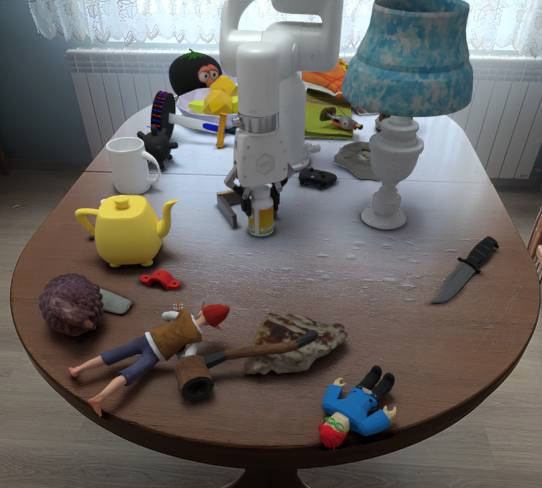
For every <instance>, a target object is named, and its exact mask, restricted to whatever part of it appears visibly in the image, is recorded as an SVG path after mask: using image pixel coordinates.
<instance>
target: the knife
mask: <svg viewBox="0 0 542 488" xmlns="http://www.w3.org/2000/svg"><path fill="white" fill-rule="evenodd" d="M499 248H500V245H499V243H498V241H497V240H496V239H495V238H493V236H489V235H488V236H486V237H484V238H483V239H482V240H480V241H479V242H477V244H476V245H475V246H474V247H473V248H472V249H471V251H470V252H469V253H468V256H467V257H466V258H462V257H458V258H457V259H456V260H457V261H458V262H459V263H458V265H457V266H456V267H454V269H453V270H452V271H451V272H450V274H449V275H448V276H447V277H446V278H445V279H444V280H443V284H442V289H441V291H440V293H439V295H438V296H437V297H435V298H434V299H433V300H431V301H429V303H430V304H440V303H446V302H448V301H450V300H451V299H452V298H453V297H455V295H456V294H458V292H459V291H460V290H461V288H462V287H464V285H465V284H466V283H467V282H468V281H469V280H470V278H471V277H472V275H474V274H475V273H476V274H481V272H482V270H481V269H479V268H478V266H480V265H481V264H482V263H484V262H485V260H486V259H487V258H488V257H489V256H490V255H491V253H492V252H493V250H494V249H496V250H498V249H499Z"/></svg>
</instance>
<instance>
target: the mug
mask: <svg viewBox="0 0 542 488" xmlns="http://www.w3.org/2000/svg"><path fill="white" fill-rule="evenodd" d="M105 149H106V154H107V158H108V161H109V165H110V166H109V167H110V170H111V175H112V178H113V183H114V186H115V189H116V191H117V192H118V194H120V195H139V196H140V195H143V194H145V193H147V192H148V191H149V190H150V189H151V186H152V185H155V184H157V183H158V182H159V181H160V178H161V170H160V168H159V165H158V162H157V161H156V159H155V158H154V157H153V156H152V155H150V154H149V153H147V152H146V151H145V147H144V142H143V141H142V140H141V139H140V138H138V137H134V136H123V137H118V138H113V139H111V140H109V141H108V142H107V143H106V145H105ZM147 160H149V162H152V164H154V165H155V166H156V169H157V172H158V173H157V176H156V177H154V178H153V177H151V175H150V169H149V162H148V163H147Z"/></svg>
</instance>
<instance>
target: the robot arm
mask: <svg viewBox="0 0 542 488" xmlns="http://www.w3.org/2000/svg"><path fill="white" fill-rule="evenodd" d="M253 2H255V0H224V2H223V4H222V5H223V6H222V10H221V14H220V29H219V43H218V53H219V54H218V56H219V57H218V58H219V64H220V66H221V69H222V72H224V73H225V74H226V76H228V77H231V78H236V85H237V89H238V111H237V117H235V118H232V120H231V121H232V125H233V126H235V127H236V129H235V131H236V133H235V135H234V142H233V156H232V157H233V159H232V160H233V161H232V164H233V166H232V168H231V170H230V171H229V172H228V174H227V176H225V178H224V180H223V184H224V185H225V187H227V188H228V189H229V190H233V191H235V192H236V193H237V194H238V195H240V198H241V203H240V211H242V213H244V214H245V215H246V216H247V218H248V217H250V216H251V199H250V198H249V192H250V188H251V187H254V186H259V185H268V184H269V185H270V184H271V186H269V187H270V196H271V197H272V199H273V209H274V211H277V212H278V211H279V205H281V193H282V192H283V188H284V187H285V186H286V185H287V183H288V181H289V179H291V178H292V177H293V175H294V174H295V173H296V172H299V171H300V170H301V169H303V168H308V166H309V164H310V157H309V156H310V155H311V154H312V153H313V154H315V153H320V152H321V151H322V146H321V144H320V143H318V144H313V143H312V142H306V143H305V137H304V135H305V113H306V90H307V88H306V87H305V85H304V83H303V81H302V79H301V78H302V77H301V76H300V75H299V73H298V72H301V73H302V71H305V72H330V71H332V70H333V69H334V68H335V67H336V65H337V62H338V59H340V58H339V57H340V51H341V38H342V29H343V28H342V26H343V13H344V2H345V1H344V0H270V2H271V6H272V8H273V9H274V11H276V12H278V13H281V14H288V15H304V16H305V15H307V16H308V15H309V16H310V15H311V16H318V17H319V18H320V19H321V22H314V21H313V22H311V21H298V20H297V21H294V20H282V21H276V22H273V23H270V25H268V26H267V27H266V29H265V30H254V29H253V30H252V29H250V30H249V29H239V26H240V25H239V24H240V20H241V17H242V16H243V14H244V12H245V10H246V9H247V8H248V7H249V6H250V5H251V4H252V3H253ZM236 179H237V180H238V182H239V183H235V181H236ZM238 184H239V185H238Z"/></svg>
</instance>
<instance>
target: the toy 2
mask: <svg viewBox="0 0 542 488" xmlns="http://www.w3.org/2000/svg"><path fill="white" fill-rule="evenodd" d="M382 375H383V369H382V368H381V367H380V366H379V365H373V366H372V367H371V369H370V370H369V372H368V373H366V374H365V375H364V377H363V379H362V380H361V381H360V382H359V383H357V384H356V385H355V386H353V387H351V388H350V391H349V393H348V395H347V396H346V397H345V398H341V396H342V392H343V388H344V387H345V386H346V385H347V383H346V382H344V383H343V381H344V378H343V377H338V378H336V379H335V380H334V382H333V384H329V385H328V386H327V388H326V390H325V393H324V395H323V399H322V403H321V408H322V410H323V411H324V412H325V413H327V414H329V415H330V416H327V417H324V420H323V422H322V423H321V424H318V431H317V432H318V436H319V442H321V443H323V445H324V447H326V448H329V449H330V448H332V451H333V452H335V448H337V447H340V445H342V443H343V441H344V440H345V438H346V437H347V436H348V434H349V431H351V432H352V431H353V432H356V433H359V434H360V435H361V436H365V437H368V436H372V435H375V434H378V433H381V432H383V431H385V430H387V429H389V428H390V427H391V421H392V420H393V419H395V417H396V415H397V407H396V406H393V407H392V410H388V406H387V405H384V406H383V409H382V408H381V409H379V410H377V411H375V412H374V413H372V414H371V415H369V416H368V413H369V412H372V411H374V410H375V409H377V408H379V405H380V402H381V401H382V400H383V398H384V397H385V396H386V395H387V394H388V393H390V392H391V391H392V389H393V387H394V386H395V382H396V378H395V375H394V374H393V373H391V372H390V371H388V372H385V373H384V375H383V377H382ZM381 377H382V379H381Z"/></svg>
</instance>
